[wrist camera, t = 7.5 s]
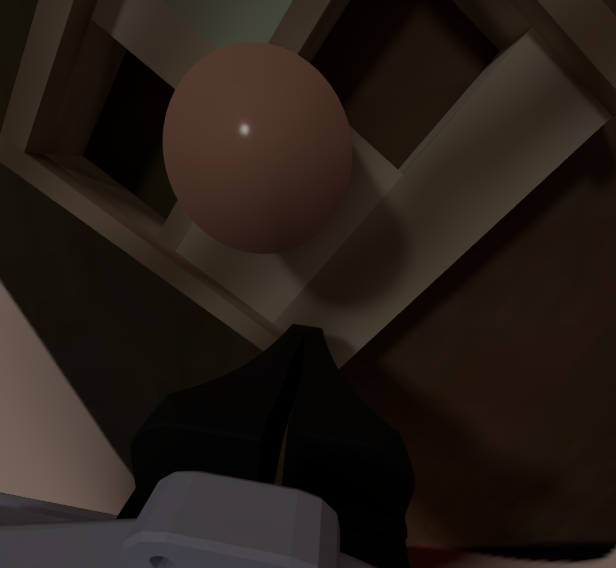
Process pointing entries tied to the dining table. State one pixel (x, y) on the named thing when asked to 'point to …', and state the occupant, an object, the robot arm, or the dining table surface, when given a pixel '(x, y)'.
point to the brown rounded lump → (257, 147)
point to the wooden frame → (365, 159)
